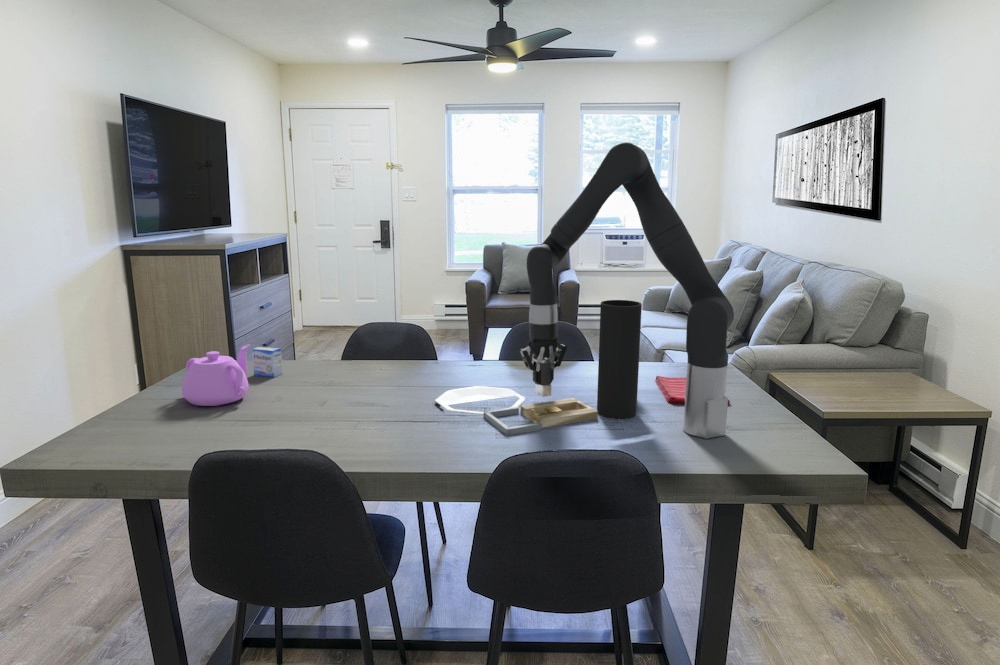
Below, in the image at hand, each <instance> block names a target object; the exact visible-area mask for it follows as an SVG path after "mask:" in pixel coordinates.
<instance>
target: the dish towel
mask: <svg viewBox="0 0 1000 665" xmlns="http://www.w3.org/2000/svg"><path fill="white" fill-rule="evenodd" d="M686 378H687V377H666V376H661V375H656V377H655V379H654V380H655V381H654V382H655V383H656V386H657V388H658V390H659V391H660V392H661V394H662V396H663V398H664V399H665V400H666V401H667V402H668V404H672V405H673V404H674V405H675V404H676V405H677V404H678V405H680V404H681V405H685V393H686ZM730 404H731V402H730V399H728V406H729V405H730Z"/></svg>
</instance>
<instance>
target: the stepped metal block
mask: <svg viewBox="0 0 1000 665" xmlns="http://www.w3.org/2000/svg"><path fill="white" fill-rule="evenodd" d="M534 385H535V386H534V387H535V388H534V392H535V394H537V395H539V396H541V397H542V398H544V397H552V383H551V362H549V361H546V360H545V359H543V360H542V363H541V364H540V384H539V385H537V384H535V383H534Z"/></svg>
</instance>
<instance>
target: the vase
mask: <svg viewBox="0 0 1000 665" xmlns="http://www.w3.org/2000/svg"><path fill="white" fill-rule="evenodd" d="M642 305H643V304H642V302H639V301H635V300H627V299H611V300H610V299H607V300H602V301H601V302H600V315H599V340H598V341H599V342H598V374H597V394H596V395H597V396H596V397H597V399H596V401H597V402H596V410H597V411H598V416H600V417H602V418H606V419H610V420H628V419H633V418H635V417H636V416H637V412H638V410H637V409H638V408H637V407H638V405H637V404H638V391H639V390H638V387H639V364H640V347H641V345H640V343H641V327H642V325H641V323H642V309H643V307H642Z"/></svg>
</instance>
